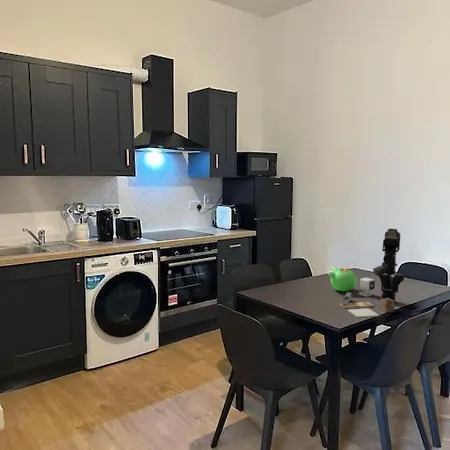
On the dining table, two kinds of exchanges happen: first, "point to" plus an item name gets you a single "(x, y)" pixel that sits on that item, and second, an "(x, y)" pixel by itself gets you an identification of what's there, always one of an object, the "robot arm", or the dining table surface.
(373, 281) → the security camera
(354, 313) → the trivet
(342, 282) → the toy bird
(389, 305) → the cap block
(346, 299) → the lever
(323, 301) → the dining table surface
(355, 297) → the dining table surface
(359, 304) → the plane block
